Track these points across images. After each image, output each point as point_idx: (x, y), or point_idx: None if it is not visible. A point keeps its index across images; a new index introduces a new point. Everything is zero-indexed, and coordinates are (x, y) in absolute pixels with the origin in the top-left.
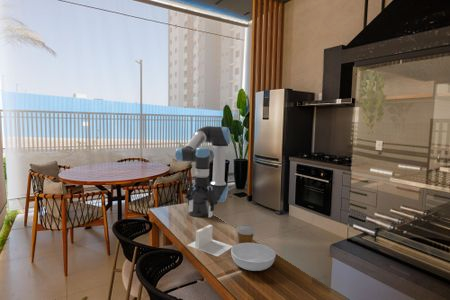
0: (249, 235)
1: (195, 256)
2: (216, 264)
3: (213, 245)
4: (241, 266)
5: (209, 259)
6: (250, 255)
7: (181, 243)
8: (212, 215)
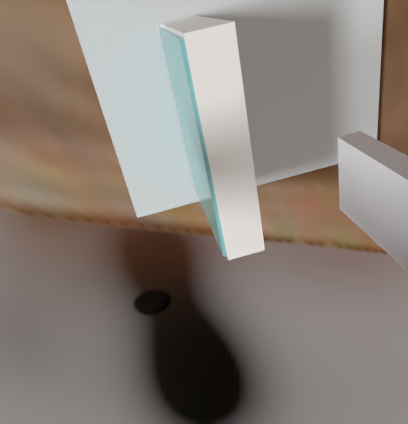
0: None
1: (273, 237)
2: None
3: (260, 66)
4: None
5: None
6: None
7: (75, 221)
8: (366, 134)
